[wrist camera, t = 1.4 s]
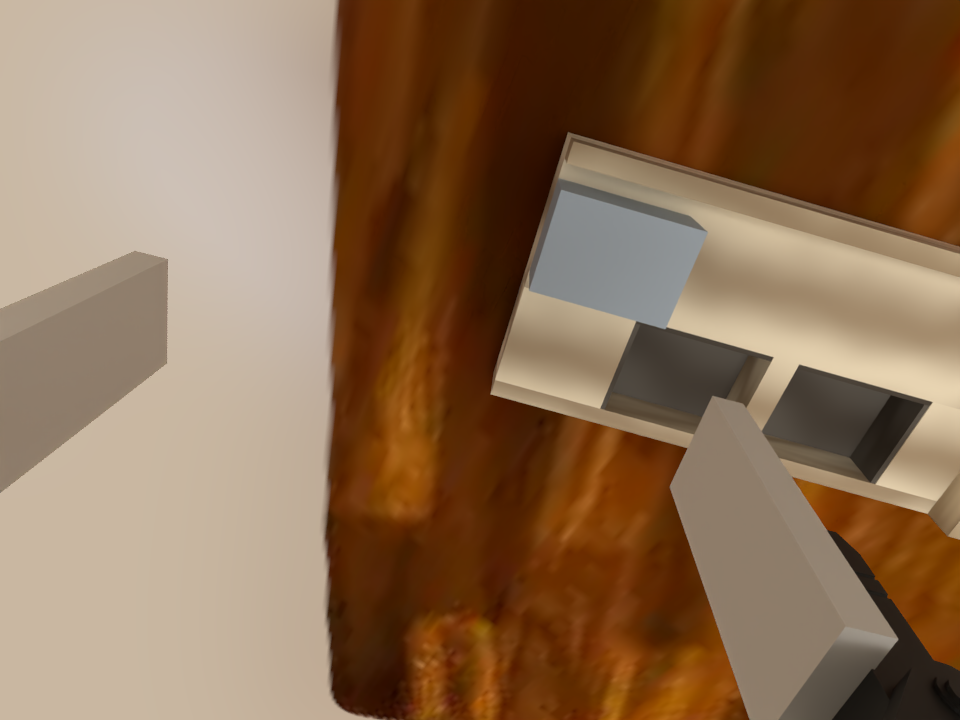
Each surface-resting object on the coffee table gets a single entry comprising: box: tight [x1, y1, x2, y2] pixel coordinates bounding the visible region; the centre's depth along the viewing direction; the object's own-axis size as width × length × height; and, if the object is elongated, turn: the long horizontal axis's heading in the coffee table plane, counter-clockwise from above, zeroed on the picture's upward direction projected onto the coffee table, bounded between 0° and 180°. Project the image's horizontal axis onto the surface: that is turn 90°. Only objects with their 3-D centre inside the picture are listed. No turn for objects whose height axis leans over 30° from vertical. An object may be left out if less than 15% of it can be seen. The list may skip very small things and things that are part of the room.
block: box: [529, 178, 708, 329], centre depth 30 cm, size 5×7×4 cm
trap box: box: [491, 132, 960, 539], centre depth 34 cm, size 15×29×5 cm, turn 75°
